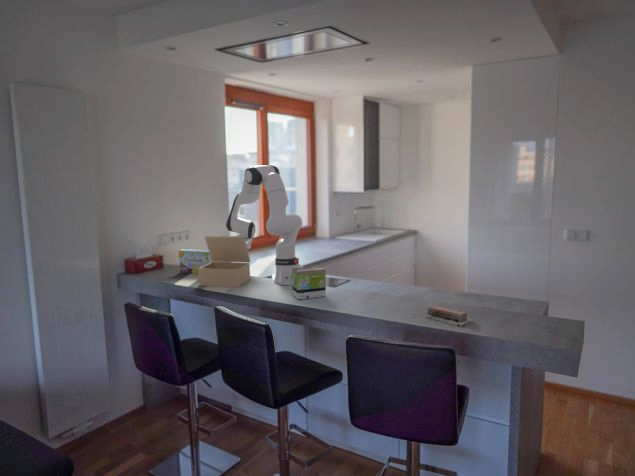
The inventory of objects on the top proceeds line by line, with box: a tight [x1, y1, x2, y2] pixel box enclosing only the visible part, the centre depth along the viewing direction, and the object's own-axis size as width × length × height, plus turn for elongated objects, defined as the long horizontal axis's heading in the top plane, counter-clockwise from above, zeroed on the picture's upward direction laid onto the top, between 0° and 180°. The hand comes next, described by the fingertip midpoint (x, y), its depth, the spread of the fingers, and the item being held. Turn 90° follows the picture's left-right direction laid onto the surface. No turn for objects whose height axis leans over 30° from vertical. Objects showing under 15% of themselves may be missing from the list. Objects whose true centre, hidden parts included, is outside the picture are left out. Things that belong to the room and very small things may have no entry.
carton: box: [197, 261, 251, 288], centre depth 273 cm, size 24×18×10 cm
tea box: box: [291, 265, 327, 300], centre depth 240 cm, size 15×10×15 cm, turn 112°
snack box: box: [178, 248, 213, 275], centre depth 299 cm, size 21×6×15 cm, turn 73°
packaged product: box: [424, 304, 474, 325], centre depth 201 cm, size 18×5×10 cm
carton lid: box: [204, 235, 251, 263], centre depth 276 cm, size 24×19×1 cm
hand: (228, 247), depth 277 cm, fingers closed, pressing on carton lid
